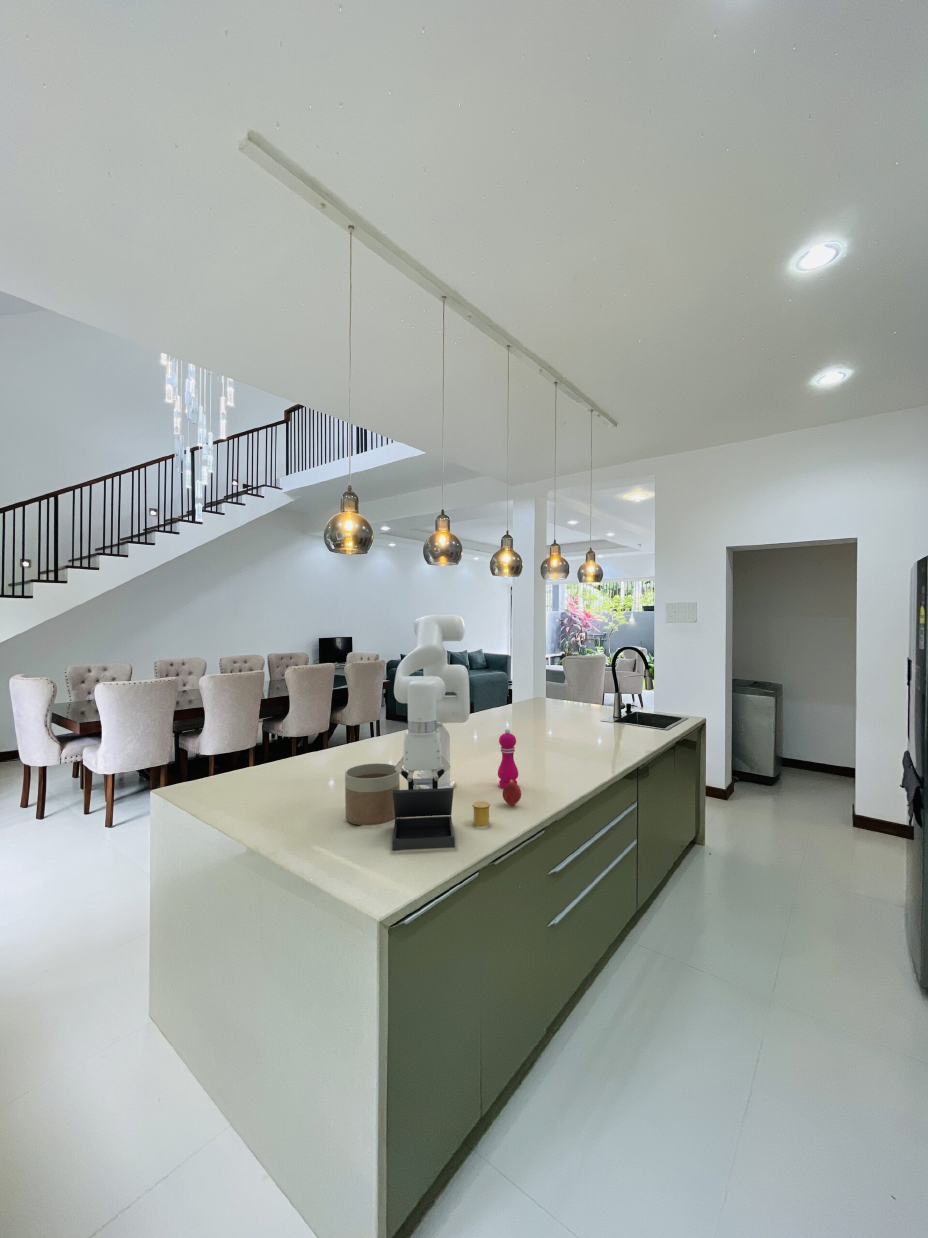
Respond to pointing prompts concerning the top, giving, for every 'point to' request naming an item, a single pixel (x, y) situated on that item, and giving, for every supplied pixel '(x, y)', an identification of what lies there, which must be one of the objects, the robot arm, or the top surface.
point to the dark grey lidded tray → (423, 833)
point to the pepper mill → (507, 759)
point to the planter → (370, 793)
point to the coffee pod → (481, 813)
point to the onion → (511, 793)
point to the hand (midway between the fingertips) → (423, 794)
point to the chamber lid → (423, 800)
